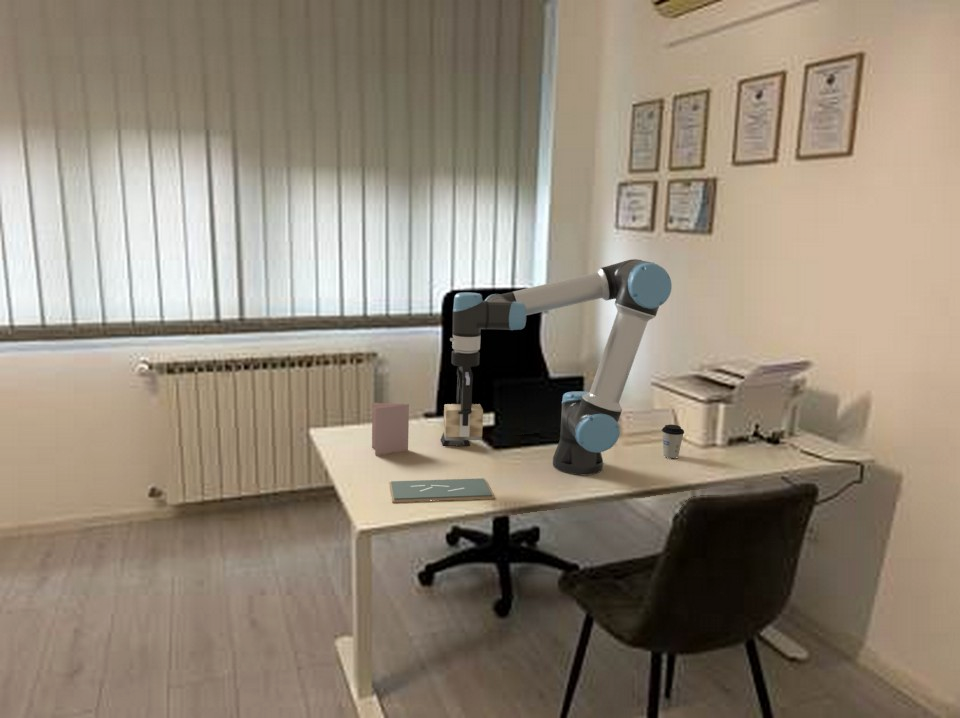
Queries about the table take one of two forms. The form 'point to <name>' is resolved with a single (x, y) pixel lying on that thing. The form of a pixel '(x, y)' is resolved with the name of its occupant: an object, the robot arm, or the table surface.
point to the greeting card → (390, 427)
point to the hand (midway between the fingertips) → (462, 432)
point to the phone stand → (454, 442)
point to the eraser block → (454, 421)
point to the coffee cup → (672, 440)
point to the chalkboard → (439, 490)
